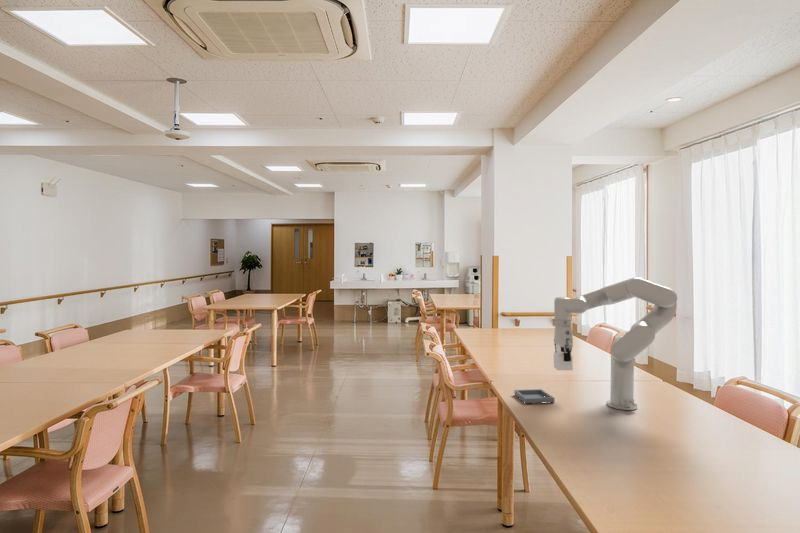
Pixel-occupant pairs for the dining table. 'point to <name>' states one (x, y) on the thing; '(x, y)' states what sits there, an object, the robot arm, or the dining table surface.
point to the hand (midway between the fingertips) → (562, 359)
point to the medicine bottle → (562, 359)
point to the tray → (533, 396)
